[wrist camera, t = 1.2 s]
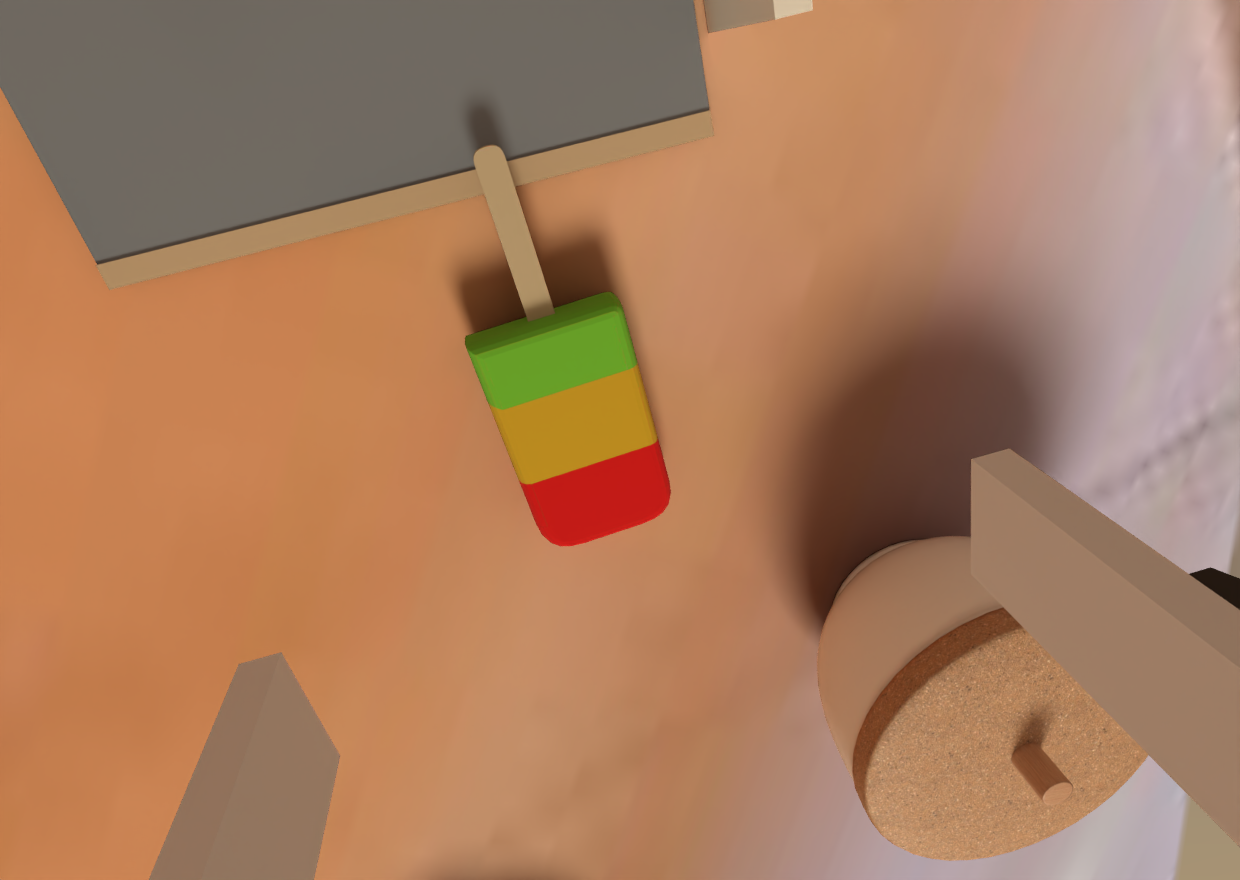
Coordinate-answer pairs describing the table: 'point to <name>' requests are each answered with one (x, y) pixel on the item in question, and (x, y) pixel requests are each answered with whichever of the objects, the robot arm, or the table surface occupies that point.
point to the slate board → (327, 110)
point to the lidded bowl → (958, 711)
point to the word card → (750, 12)
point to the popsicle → (566, 393)
